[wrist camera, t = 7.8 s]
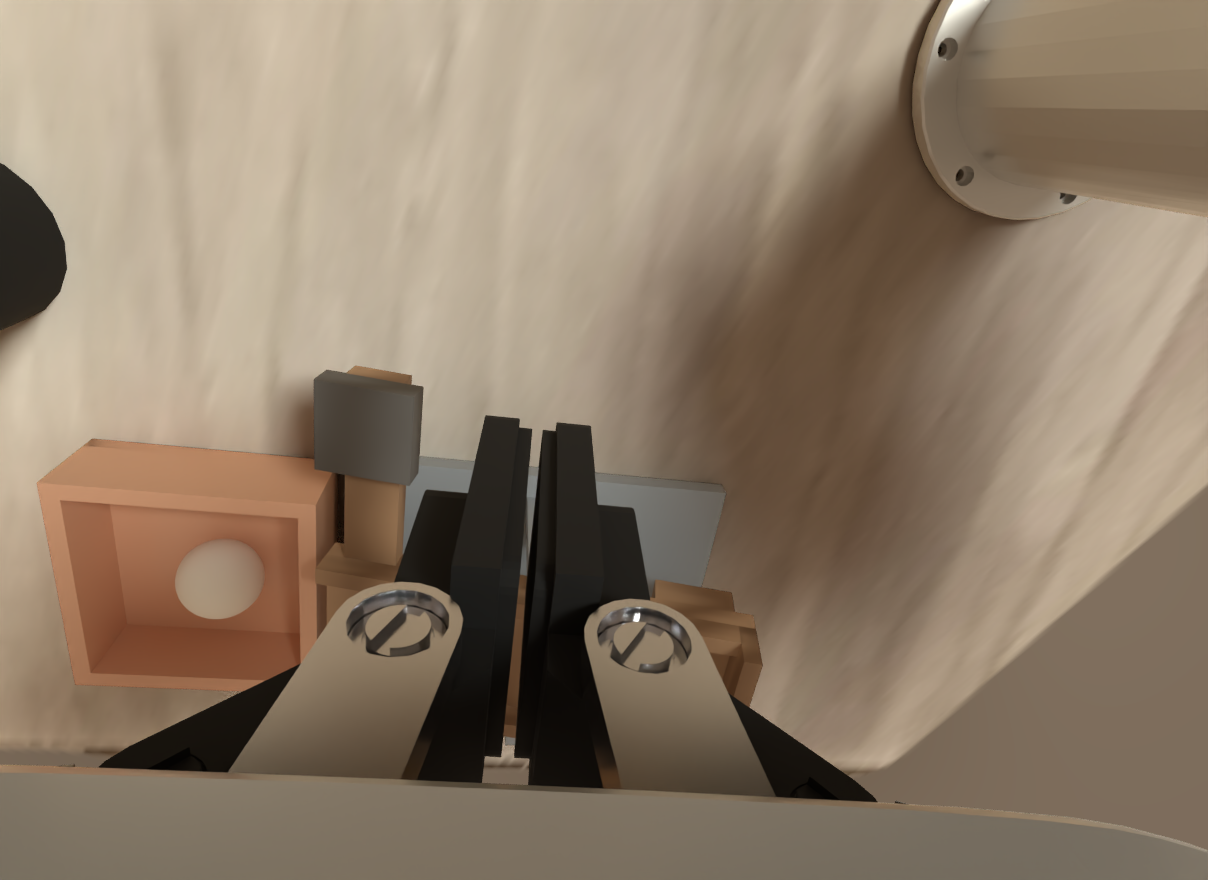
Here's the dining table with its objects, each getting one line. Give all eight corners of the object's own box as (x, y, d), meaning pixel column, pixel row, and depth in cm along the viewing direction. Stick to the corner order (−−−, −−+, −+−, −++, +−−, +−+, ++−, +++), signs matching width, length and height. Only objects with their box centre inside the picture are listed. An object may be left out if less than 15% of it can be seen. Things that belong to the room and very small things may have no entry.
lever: (792, 418, 33) (822, 481, 27) (711, 696, 40) (720, 794, 34) (363, 342, 33) (299, 389, 27) (357, 634, 40) (305, 722, 34)
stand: (721, 484, 40) (765, 568, 33) (675, 662, 45) (704, 768, 38) (352, 450, 37) (311, 534, 30) (349, 646, 42) (314, 758, 35)
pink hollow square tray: (338, 461, 37) (315, 505, 33) (336, 636, 42) (317, 694, 38) (92, 438, 35) (36, 482, 31) (120, 625, 40) (75, 684, 36)
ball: (275, 527, 37) (245, 573, 34) (277, 589, 39) (249, 639, 35) (193, 520, 37) (155, 565, 33) (199, 583, 38) (163, 632, 35)
